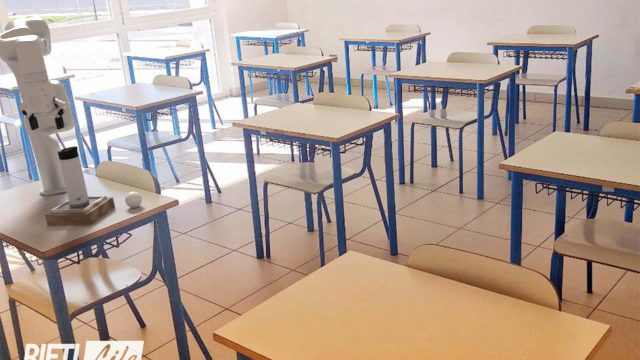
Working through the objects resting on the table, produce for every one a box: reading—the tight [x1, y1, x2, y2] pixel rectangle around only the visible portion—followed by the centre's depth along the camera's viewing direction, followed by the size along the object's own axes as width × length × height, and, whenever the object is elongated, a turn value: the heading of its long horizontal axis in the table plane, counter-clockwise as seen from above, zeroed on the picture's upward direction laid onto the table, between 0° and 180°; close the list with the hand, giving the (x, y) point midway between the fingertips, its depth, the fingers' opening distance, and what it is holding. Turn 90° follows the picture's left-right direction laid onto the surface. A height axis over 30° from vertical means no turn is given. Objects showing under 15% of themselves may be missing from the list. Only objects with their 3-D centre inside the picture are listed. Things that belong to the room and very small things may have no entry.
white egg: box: [124, 191, 143, 209], centre depth 223 cm, size 8×6×6 cm
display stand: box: [44, 195, 116, 227], centre depth 218 cm, size 16×16×5 cm
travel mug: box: [58, 145, 89, 207], centre depth 215 cm, size 6×7×20 cm
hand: (48, 128), depth 212 cm, fingers open, 9 cm apart
